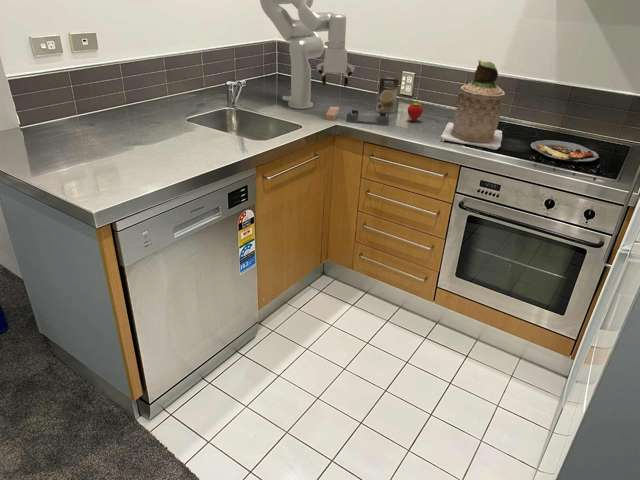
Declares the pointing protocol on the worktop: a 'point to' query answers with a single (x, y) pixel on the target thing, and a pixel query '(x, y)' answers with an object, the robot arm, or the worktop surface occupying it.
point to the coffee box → (387, 94)
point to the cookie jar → (478, 111)
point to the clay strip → (332, 113)
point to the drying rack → (367, 118)
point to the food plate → (564, 151)
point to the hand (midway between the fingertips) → (334, 85)
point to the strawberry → (415, 111)
